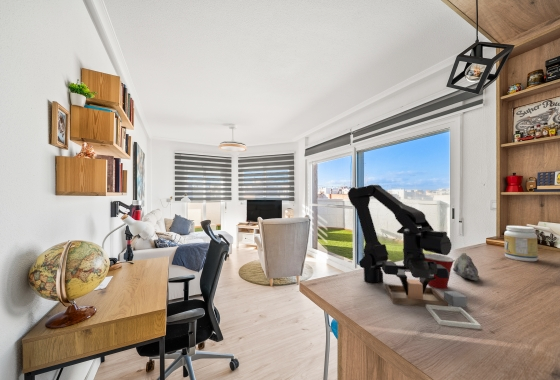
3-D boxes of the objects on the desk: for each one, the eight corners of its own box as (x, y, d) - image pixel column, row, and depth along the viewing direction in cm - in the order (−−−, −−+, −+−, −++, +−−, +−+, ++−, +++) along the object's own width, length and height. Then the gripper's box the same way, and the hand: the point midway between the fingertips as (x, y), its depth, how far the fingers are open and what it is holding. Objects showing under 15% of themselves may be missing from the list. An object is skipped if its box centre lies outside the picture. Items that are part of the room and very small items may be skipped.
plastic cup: (462, 290, 83) (461, 257, 84) (444, 296, 79) (443, 261, 79) (432, 280, 93) (431, 250, 93) (414, 284, 89) (413, 253, 89)
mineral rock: (476, 285, 88) (475, 259, 88) (443, 277, 97) (443, 253, 97) (486, 277, 96) (485, 253, 96) (455, 270, 104) (455, 248, 104)
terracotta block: (409, 298, 75) (408, 283, 75) (405, 293, 79) (405, 279, 79) (422, 300, 74) (422, 284, 74) (418, 294, 78) (418, 279, 78)
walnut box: (393, 305, 72) (393, 297, 72) (385, 290, 84) (385, 284, 84) (448, 311, 69) (448, 302, 69) (432, 294, 80) (432, 287, 80)
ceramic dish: (439, 327, 61) (439, 321, 61) (425, 309, 70) (425, 304, 70) (481, 332, 58) (480, 325, 58) (461, 313, 68) (461, 307, 68)
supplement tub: (502, 254, 131) (501, 224, 131) (533, 257, 123) (532, 226, 124) (507, 259, 121) (506, 227, 121) (541, 263, 114) (540, 229, 114)
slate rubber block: (453, 310, 70) (453, 297, 70) (444, 303, 74) (443, 291, 74) (466, 309, 70) (466, 296, 70) (456, 303, 74) (455, 291, 74)
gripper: (388, 252, 71) (389, 303, 71) (457, 256, 66) (459, 310, 66) (381, 245, 82) (381, 289, 81) (440, 247, 77) (441, 293, 77)
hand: (413, 295), depth 76 cm, fingers closed on terracotta block, 4 cm apart
